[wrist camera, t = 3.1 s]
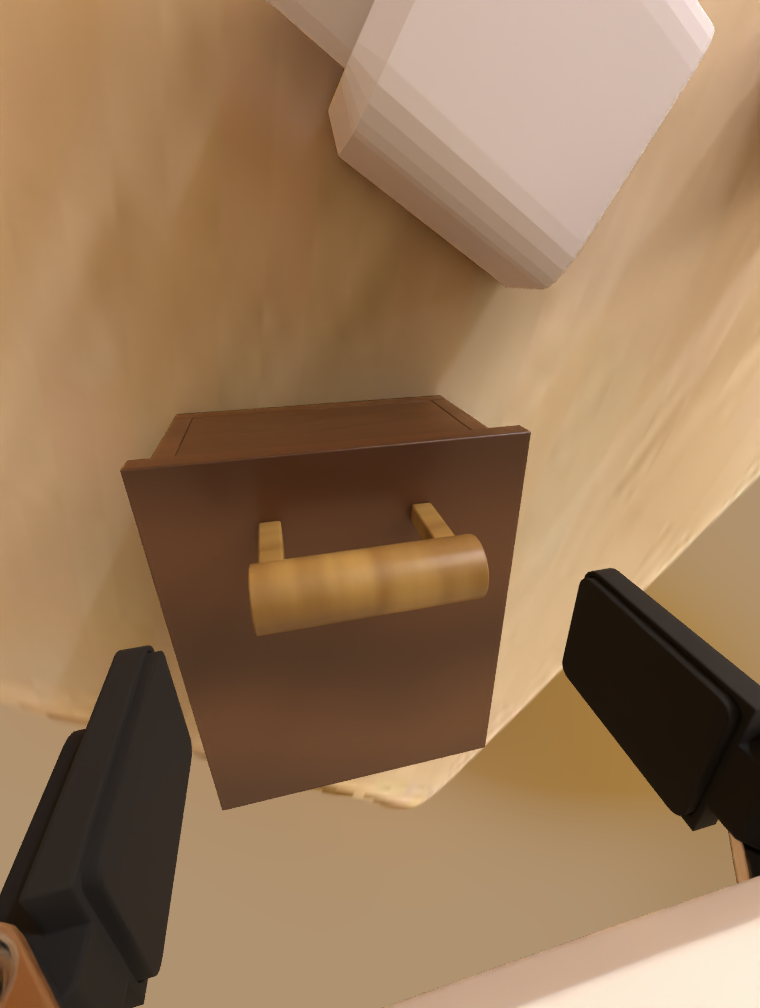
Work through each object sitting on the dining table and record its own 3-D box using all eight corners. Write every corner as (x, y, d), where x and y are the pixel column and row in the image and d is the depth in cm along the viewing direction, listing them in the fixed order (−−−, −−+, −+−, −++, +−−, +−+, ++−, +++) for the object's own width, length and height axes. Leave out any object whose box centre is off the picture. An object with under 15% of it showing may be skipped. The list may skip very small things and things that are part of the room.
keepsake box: (176, 414, 20) (134, 483, 14) (440, 395, 23) (516, 445, 16) (232, 664, 27) (223, 792, 21) (429, 629, 30) (478, 732, 23)
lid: (126, 459, 13) (58, 554, 9) (519, 424, 16) (621, 483, 11) (223, 793, 21) (213, 934, 16) (478, 733, 23) (530, 841, 19)
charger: (292, -342, 12) (627, 72, 18) (170, 34, 15) (498, 287, 21) (308, -651, 8) (732, 14, 14) (135, -57, 11) (556, 291, 17)
